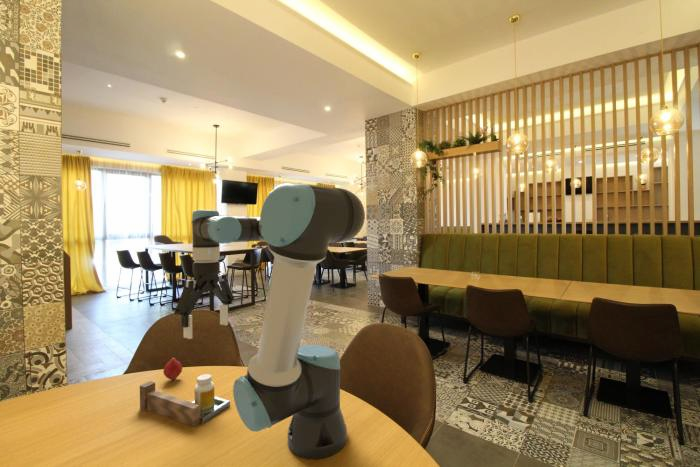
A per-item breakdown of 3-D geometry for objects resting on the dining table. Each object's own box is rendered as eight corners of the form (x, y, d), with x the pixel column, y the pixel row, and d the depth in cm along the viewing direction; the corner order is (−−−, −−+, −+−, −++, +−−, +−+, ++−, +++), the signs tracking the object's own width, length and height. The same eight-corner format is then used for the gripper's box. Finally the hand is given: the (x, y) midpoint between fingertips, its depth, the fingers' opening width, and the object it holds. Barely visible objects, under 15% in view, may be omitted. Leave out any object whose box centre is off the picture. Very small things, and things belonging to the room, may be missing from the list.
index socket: (230, 405, 99) (229, 400, 99) (202, 423, 90) (202, 418, 90) (206, 398, 104) (206, 393, 104) (177, 415, 94) (177, 409, 94)
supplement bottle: (218, 405, 99) (217, 373, 99) (207, 415, 94) (206, 381, 94) (202, 403, 100) (202, 372, 100) (190, 413, 95) (190, 380, 95)
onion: (159, 383, 114) (159, 360, 114) (171, 375, 119) (171, 354, 119) (174, 384, 113) (174, 361, 113) (185, 376, 118) (185, 355, 118)
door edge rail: (201, 421, 91) (201, 396, 91) (192, 428, 88) (191, 402, 88) (150, 403, 101) (150, 381, 100) (140, 408, 98) (139, 385, 98)
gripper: (227, 257, 112) (228, 318, 112) (159, 265, 89) (160, 342, 89) (244, 257, 109) (245, 321, 109) (178, 266, 86) (179, 346, 86)
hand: (207, 330), depth 99 cm, fingers open, 13 cm apart
